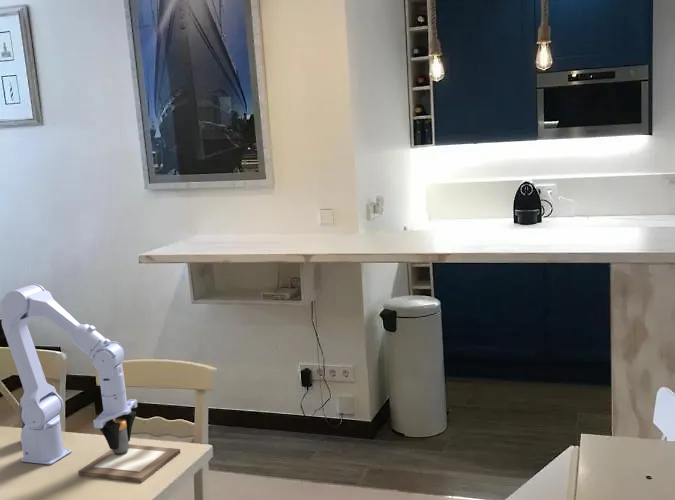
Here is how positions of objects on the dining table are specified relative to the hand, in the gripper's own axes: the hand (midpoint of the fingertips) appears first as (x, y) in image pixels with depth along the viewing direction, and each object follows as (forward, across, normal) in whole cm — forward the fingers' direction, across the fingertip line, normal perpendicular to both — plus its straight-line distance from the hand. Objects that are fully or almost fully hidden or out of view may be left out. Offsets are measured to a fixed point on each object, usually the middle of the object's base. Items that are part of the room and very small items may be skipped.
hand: (120, 444), depth 179 cm
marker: (+2, 0, 0) cm, 2 cm away
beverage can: (+3, +5, +31) cm, 32 cm away
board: (+3, -3, -5) cm, 6 cm away
